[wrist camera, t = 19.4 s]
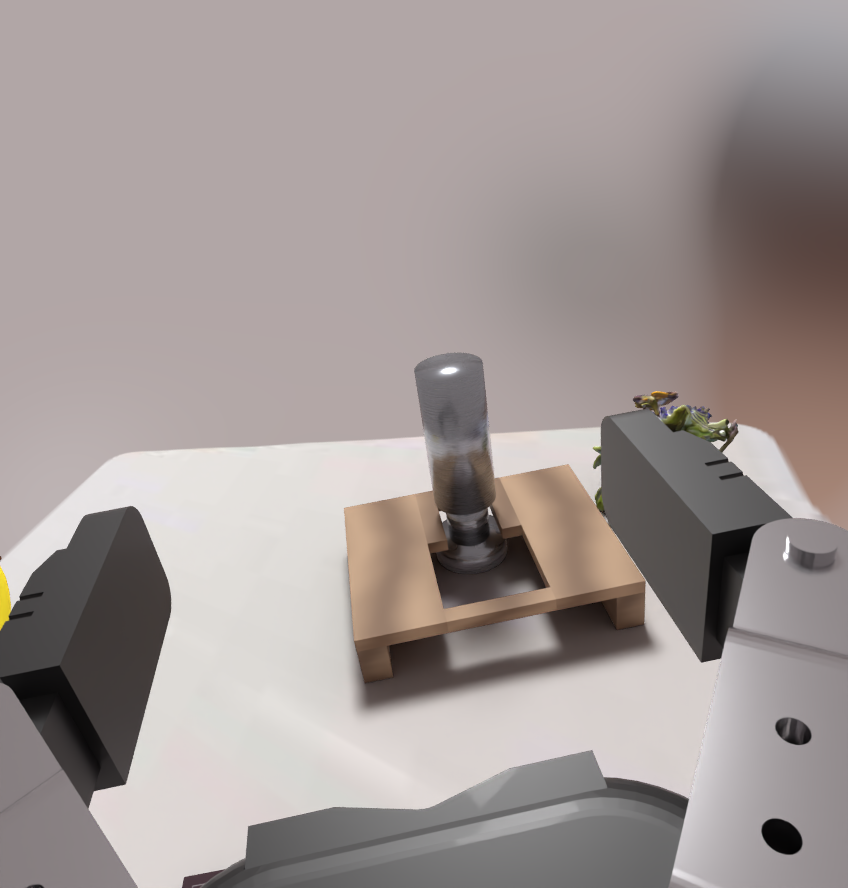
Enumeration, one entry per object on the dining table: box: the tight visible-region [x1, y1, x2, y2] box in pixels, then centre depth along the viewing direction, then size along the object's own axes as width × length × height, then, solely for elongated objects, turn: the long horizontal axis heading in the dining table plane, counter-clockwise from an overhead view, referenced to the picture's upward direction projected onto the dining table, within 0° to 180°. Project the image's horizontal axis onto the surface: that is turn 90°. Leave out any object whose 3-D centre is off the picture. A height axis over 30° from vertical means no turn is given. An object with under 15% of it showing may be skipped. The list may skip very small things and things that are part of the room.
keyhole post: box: [414, 353, 507, 574], centre depth 54 cm, size 6×6×17 cm
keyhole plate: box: [344, 464, 645, 683], centre depth 54 cm, size 20×16×4 cm
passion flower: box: [593, 391, 738, 511], centre depth 59 cm, size 11×11×12 cm
